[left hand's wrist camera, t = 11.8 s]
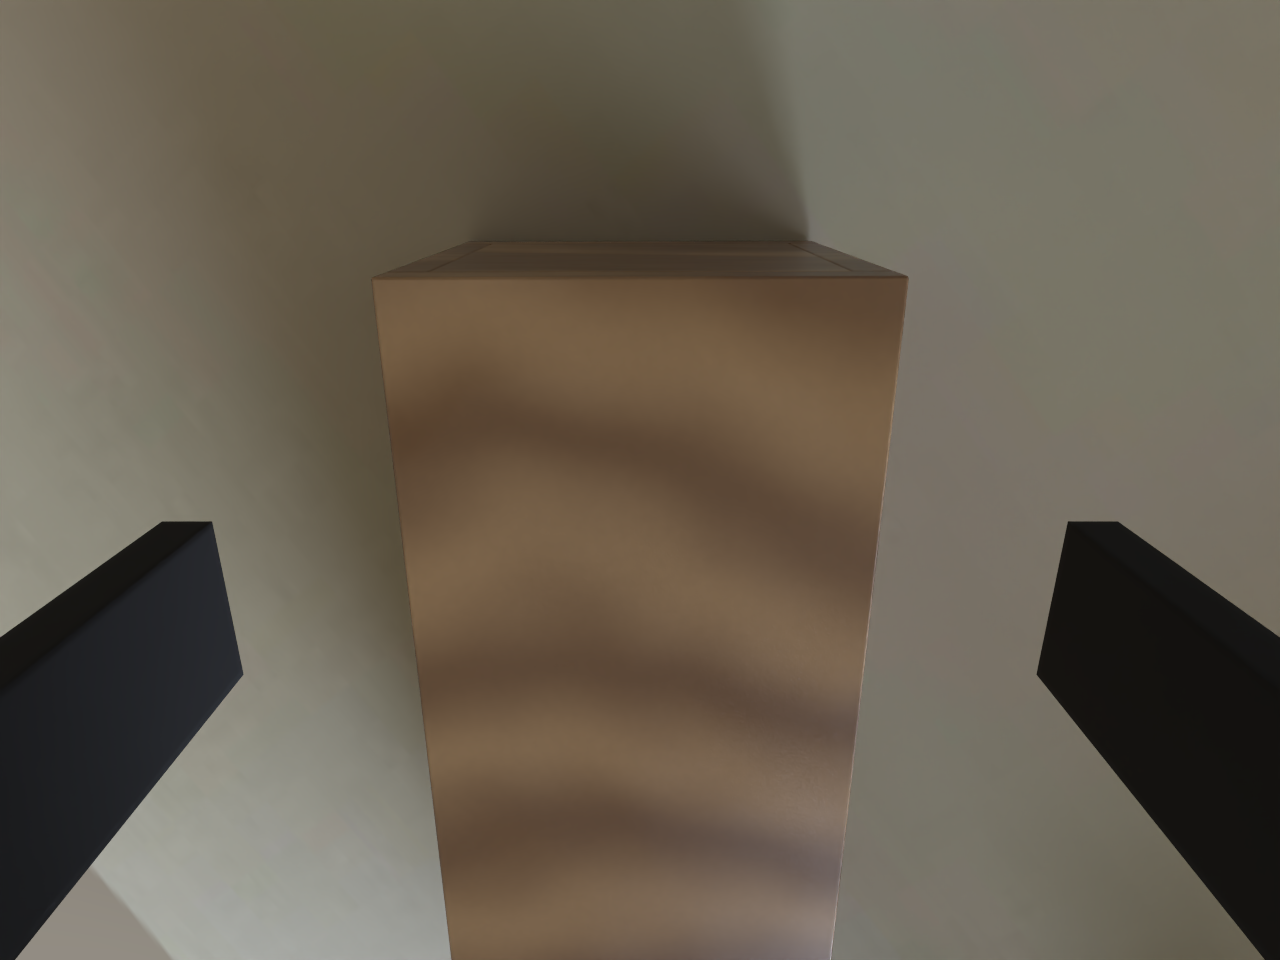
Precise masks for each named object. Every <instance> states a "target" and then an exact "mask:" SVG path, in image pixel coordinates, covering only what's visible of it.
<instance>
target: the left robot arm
mask: <svg viewBox="0 0 1280 960" xmlns="http://www.w3.org/2000/svg"><path fill="white" fill-rule="evenodd" d="M242 676H243V670H242V665H241V660H240V655H239V651H238V646H237V641H236V636H235V631H234V626H233V621H232V616H231V612H230V607H229V602H228V597H227V592H226V587H225V582H224V578H223V573H222V568H221V563H220V558H219V553H218V548H217V543H216V539H215V534H214V529H213V524H212V522H161V523H159V524H158V525H157V526H155V527H154V528H152V529H151V530H150V531H148V532H147V533H145V534H144V535H143V536H141V537H140V538H138V539H137V540H136V541H134V542H133V543H131V544H130V545H129V546H127V547H126V548H124V549H123V550H122V551H120V552H119V553H117V554H116V555H115V556H113V557H112V558H111V559H109V560H108V561H106V562H105V563H104V564H102V565H101V566H99V567H98V568H97V569H95V570H94V571H92V572H91V573H90V574H88V575H87V576H85V577H84V578H83V579H81V580H80V581H78V582H77V583H76V584H74V585H73V586H71V587H70V588H69V589H67V590H66V591H64V592H63V593H62V594H60V595H59V596H57V597H56V598H55V599H53V600H52V601H50V602H49V603H48V604H46V605H45V606H43V607H42V608H41V609H39V610H38V611H36V612H35V613H34V614H32V615H31V616H30V617H28V618H27V619H25V620H24V621H23V622H21V623H20V624H18V625H17V626H16V627H14V628H13V629H11V630H10V631H9V632H7V633H6V634H4V635H3V636H2V637H0V960H15V959H16V958H17V957H18V955H19V954H20V953H21V952H22V950H23V949H24V948H25V947H26V945H27V944H28V943H29V942H30V940H31V939H32V938H33V937H34V935H35V934H36V933H37V932H38V930H39V929H40V928H41V926H42V925H43V924H44V923H45V922H46V920H47V919H48V918H49V917H50V915H51V914H52V913H53V912H54V910H55V909H56V908H57V907H58V905H59V904H60V903H61V902H62V900H63V899H64V898H65V897H66V895H67V894H68V893H69V892H70V890H71V889H72V888H73V887H74V885H75V884H76V883H77V882H78V880H79V879H80V878H81V877H82V875H83V874H84V873H85V872H86V870H87V869H88V868H89V867H90V865H91V864H92V863H93V862H94V860H95V859H96V858H97V857H98V855H99V854H100V853H101V852H102V850H103V849H104V848H105V847H106V845H107V844H108V843H109V842H110V840H111V839H112V838H113V837H114V835H115V834H116V833H117V832H118V830H119V829H120V828H121V827H122V825H123V824H124V823H125V822H126V820H127V819H128V818H129V817H130V815H131V814H132V813H133V812H134V810H135V809H136V808H137V807H138V805H139V804H140V803H141V802H142V800H143V799H144V798H145V797H146V795H147V794H148V793H149V792H150V790H151V789H152V788H153V787H154V785H155V784H156V783H157V782H158V780H159V779H160V778H161V777H162V776H163V774H164V773H165V772H166V771H167V769H168V768H169V767H170V766H171V764H172V763H173V762H174V761H175V759H176V758H177V757H178V756H179V754H180V753H181V752H182V751H183V749H184V748H185V747H186V746H187V744H188V743H189V742H190V741H191V739H192V738H193V737H194V736H195V734H196V733H197V732H198V731H199V729H200V728H201V727H202V726H203V724H204V723H205V722H206V721H207V719H208V718H209V717H210V716H211V714H212V713H213V712H214V711H215V709H216V708H217V707H218V706H219V704H220V703H221V702H222V701H223V699H224V698H225V697H226V696H227V694H228V693H229V692H230V691H231V689H232V688H233V687H234V686H235V684H236V683H237V682H238V681H239V679H240V678H241V677H242ZM1037 676H1038V677H1039V678H1040V679H1041V681H1042V682H1043V683H1044V684H1045V686H1046V687H1047V688H1048V689H1049V691H1050V692H1051V693H1052V694H1053V696H1054V697H1055V698H1056V699H1057V701H1058V702H1059V703H1060V704H1061V706H1062V707H1063V708H1064V709H1065V711H1066V712H1067V713H1068V714H1069V716H1070V717H1071V718H1072V719H1073V721H1074V722H1075V723H1076V724H1077V726H1078V727H1079V728H1080V729H1081V731H1082V732H1083V733H1084V734H1085V736H1086V737H1087V738H1088V739H1089V741H1090V742H1091V743H1092V744H1093V746H1094V747H1095V748H1096V749H1097V751H1098V752H1099V753H1100V754H1101V756H1102V757H1103V758H1104V759H1105V761H1106V762H1107V763H1108V764H1109V766H1110V767H1111V768H1112V769H1113V771H1114V772H1115V773H1116V774H1117V776H1118V777H1119V778H1120V779H1121V780H1122V782H1123V783H1124V784H1125V785H1126V787H1127V788H1128V789H1129V790H1130V792H1131V793H1132V794H1133V795H1134V797H1135V798H1136V799H1137V800H1138V802H1139V803H1140V804H1141V805H1142V807H1143V808H1144V809H1145V810H1146V812H1147V813H1148V814H1149V815H1150V817H1151V818H1152V819H1153V820H1154V822H1155V823H1156V824H1157V825H1158V827H1159V828H1160V829H1161V830H1162V832H1163V833H1164V834H1165V835H1166V837H1167V838H1168V839H1169V840H1170V842H1171V843H1172V844H1173V845H1174V847H1175V848H1176V849H1177V850H1178V852H1179V853H1180V854H1181V855H1182V857H1183V858H1184V859H1185V860H1186V862H1187V863H1188V864H1189V865H1190V867H1191V868H1192V869H1193V870H1194V872H1195V873H1196V874H1197V875H1198V877H1199V878H1200V879H1201V880H1202V882H1203V883H1204V884H1205V885H1206V887H1207V888H1208V889H1209V890H1210V892H1211V893H1212V894H1213V895H1214V897H1215V898H1216V899H1217V900H1218V902H1219V903H1220V904H1221V905H1222V907H1223V908H1224V909H1225V910H1226V912H1227V913H1228V914H1229V915H1230V917H1231V918H1232V919H1233V920H1234V922H1235V923H1236V924H1237V925H1238V927H1239V928H1240V929H1241V930H1242V932H1243V933H1244V934H1245V935H1246V937H1247V938H1248V939H1249V940H1250V942H1251V943H1252V944H1253V945H1254V947H1255V948H1256V949H1257V950H1258V952H1259V953H1260V954H1261V955H1262V957H1263V958H1264V959H1265V960H1280V637H1278V636H1277V635H1276V634H1274V633H1273V632H1271V631H1270V630H1269V629H1267V628H1266V627H1264V626H1263V625H1262V624H1260V623H1259V622H1257V621H1256V620H1255V619H1253V618H1252V617H1250V616H1249V615H1248V614H1246V613H1245V612H1244V611H1242V610H1241V609H1239V608H1238V607H1237V606H1235V605H1234V604H1232V603H1231V602H1230V601H1228V600H1227V599H1225V598H1224V597H1223V596H1221V595H1220V594H1218V593H1217V592H1216V591H1214V590H1213V589H1211V588H1210V587H1209V586H1207V585H1206V584H1204V583H1203V582H1202V581H1200V580H1199V579H1197V578H1196V577H1195V576H1193V575H1192V574H1190V573H1189V572H1188V571H1186V570H1185V569H1183V568H1182V567H1181V566H1179V565H1178V564H1176V563H1175V562H1174V561H1172V560H1171V559H1169V558H1168V557H1167V556H1165V555H1164V554H1163V553H1161V552H1160V551H1158V550H1157V549H1156V548H1154V547H1153V546H1151V545H1150V544H1149V543H1147V542H1146V541H1144V540H1143V539H1142V538H1140V537H1139V536H1137V535H1136V534H1135V533H1133V532H1132V531H1130V530H1129V529H1128V528H1126V527H1125V526H1123V525H1122V524H1121V523H1119V522H1068V524H1067V529H1066V534H1065V539H1064V543H1063V548H1062V553H1061V558H1060V563H1059V568H1058V573H1057V578H1056V582H1055V587H1054V592H1053V597H1052V602H1051V607H1050V612H1049V616H1048V621H1047V626H1046V631H1045V636H1044V641H1043V646H1042V651H1041V655H1040V660H1039V665H1038V670H1037Z"/></svg>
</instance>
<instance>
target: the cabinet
mask: <svg viewBox="0 0 1280 960" xmlns="http://www.w3.org/2000/svg"><path fill="white" fill-rule="evenodd" d="M908 280H909V278H908V276H906V275H903V274H900V273H897V272H895V271H891V270H889V269H886V268H883V267H880V266H878V265H875V264H872V263H869V262H867V261H864V260H861V259H859V258H856V257H853V256H850V255H848V254H845V253H842V252H840V251H837V250H834V249H831V248H829V247H826V246H823V245H820V244H818V243H816V242H813V241H560V242H466V243H464V244H461V245H459V246H456V247H453V248H451V249H448V250H445V251H443V252H440V253H437V254H434V255H432V256H429V257H426V258H424V259H421V260H418V261H416V262H413V263H410V264H407V265H405V266H402V267H399V268H397V269H394V270H391V271H389V272H386V273H383V274H380V275H377V276H375V277H372V280H371V281H372V289H373V298H374V306H375V315H376V323H377V332H378V340H379V348H380V357H381V365H382V374H383V382H384V391H385V399H386V408H387V416H388V425H389V433H390V442H391V450H392V459H393V467H394V476H395V484H396V493H397V501H398V510H399V518H400V527H401V535H402V544H403V552H404V561H405V569H406V577H407V586H408V594H409V603H410V611H411V620H412V628H413V637H414V645H415V654H416V662H417V671H418V679H419V688H420V696H421V705H422V713H423V722H424V730H425V739H426V747H427V756H428V764H429V773H430V781H431V790H432V798H433V807H434V815H435V823H436V832H437V840H438V849H439V857H440V866H441V874H442V883H443V891H444V900H445V908H446V917H447V925H448V934H449V942H450V951H451V959H452V960H831V956H832V948H833V939H834V930H835V921H836V913H837V904H838V895H839V886H840V877H841V869H842V860H843V851H844V842H845V833H846V825H847V816H848V807H849V798H850V790H851V781H852V772H853V763H854V754H855V746H856V737H857V728H858V719H859V710H860V702H861V693H862V684H863V675H864V667H865V658H866V649H867V640H868V631H869V623H870V614H871V605H872V596H873V587H874V579H875V570H876V561H877V552H878V543H879V535H880V526H881V517H882V508H883V500H884V491H885V482H886V473H887V464H888V456H889V447H890V438H891V429H892V420H893V412H894V403H895V394H896V385H897V377H898V368H899V359H900V350H901V341H902V333H903V324H904V315H905V306H906V297H907V289H908Z"/></svg>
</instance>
